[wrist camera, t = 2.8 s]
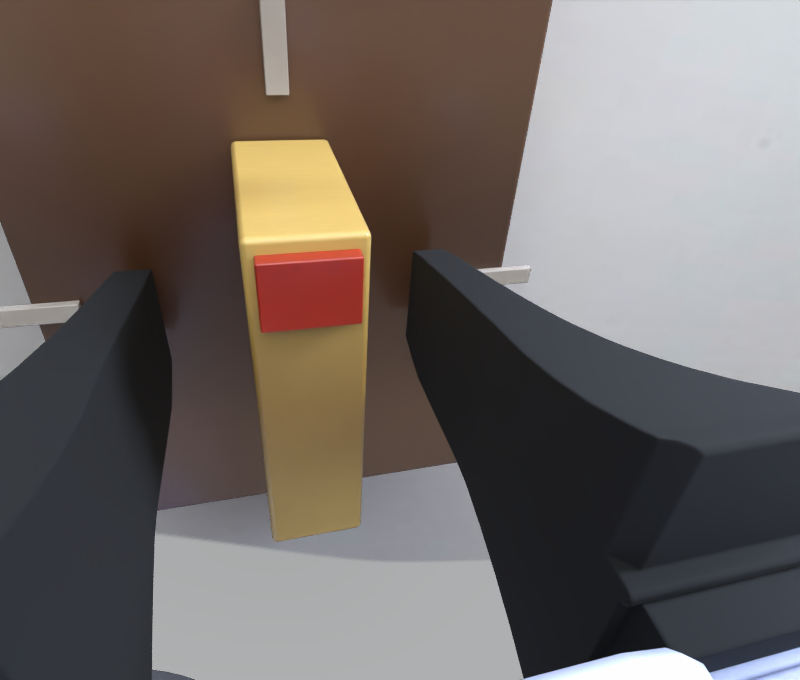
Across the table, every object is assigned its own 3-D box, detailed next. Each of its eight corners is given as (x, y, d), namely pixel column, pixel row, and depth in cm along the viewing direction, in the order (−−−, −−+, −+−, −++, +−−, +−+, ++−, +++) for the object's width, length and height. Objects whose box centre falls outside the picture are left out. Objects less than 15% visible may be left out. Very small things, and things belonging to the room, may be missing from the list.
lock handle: (331, 400, 13) (364, 539, 11) (259, 409, 13) (274, 557, 10) (328, 137, 10) (377, 241, 7) (229, 139, 9) (238, 250, 7)
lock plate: (450, 387, 19) (487, 462, 16) (102, 432, 16) (83, 529, 14) (521, -74, 11) (606, -64, 9) (-89, -118, 9) (-200, -119, 7)
